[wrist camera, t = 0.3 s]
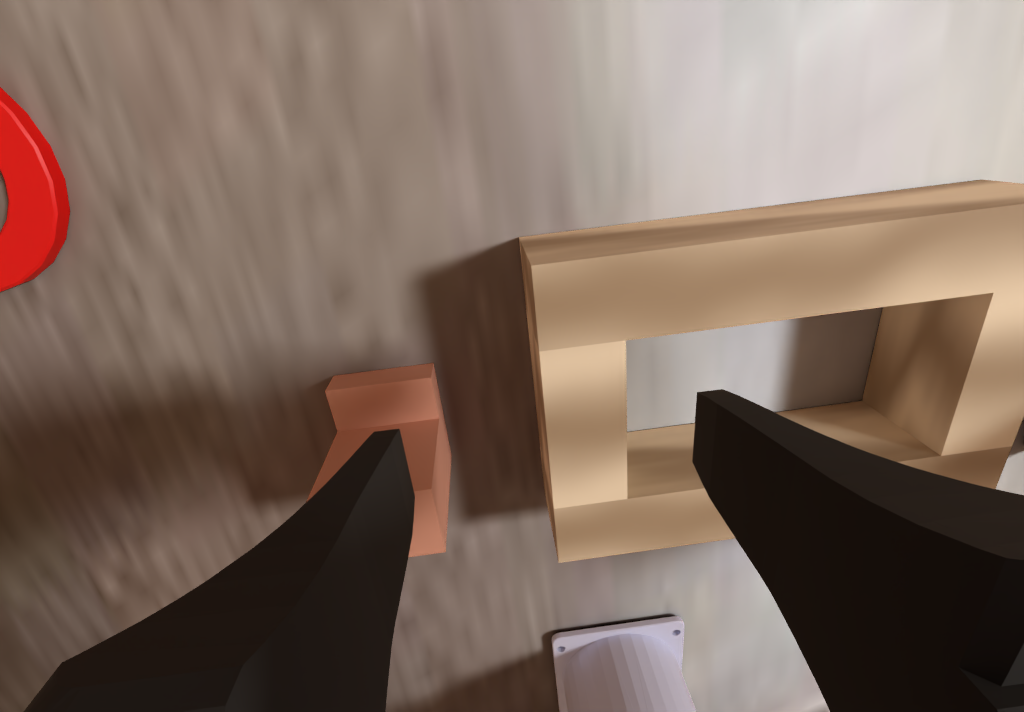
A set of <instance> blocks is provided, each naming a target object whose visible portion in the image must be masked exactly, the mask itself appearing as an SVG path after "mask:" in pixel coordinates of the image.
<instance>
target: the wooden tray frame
mask: <svg viewBox="0 0 1024 712" xmlns="http://www.w3.org/2000/svg"><path fill="white" fill-rule="evenodd" d="M519 244H520V254H521V264H522V273H523V283H524V293H525V303H526V313H527V323H528V333H529V343H530V353H531V362H532V372H533V382H534V392H535V402H536V412H537V422H538V432H539V442H540V451H541V461H542V471H543V481H544V491H545V497H546V502H547V507H548V512H549V517H550V522H551V526H552V531H553V536H554V541H555V546H556V551H557V556H558V561H559V563H561V562H569V561H576V560H583V559H590V558H597V557H604V556H612V555H619V554H626V553H633V552H640V551H647V550H655V549H662V548H669V547H676V546H683V545H690V544H698V543H705V542H712V541H719V540H726V539H733V538H735V536H734V535H733V533H732V532H731V530H730V529H729V527H728V526H727V524H726V523H725V521H724V520H723V518H722V517H721V515H720V514H719V512H718V510H717V509H716V507H715V506H714V504H713V503H712V501H711V499H710V498H709V496H708V494H707V492H706V490H705V488H704V486H703V484H702V482H701V480H700V478H699V475H698V473H697V471H696V469H695V467H694V464H693V462H692V458H693V444H694V430H695V423H693V424H685V425H678V426H671V427H663V428H656V429H648V430H641V431H633V432H627V397H626V340H633V339H640V338H648V337H656V336H664V335H671V334H679V333H687V332H694V331H702V330H710V329H718V328H725V327H733V326H741V325H748V324H756V323H764V322H771V321H779V320H787V319H795V318H802V317H810V316H818V315H825V314H833V313H841V312H849V311H856V310H864V309H872V308H879V307H883V310H882V314H881V319H880V323H879V327H878V332H877V336H876V341H875V345H874V350H873V354H872V358H871V363H870V367H869V372H868V376H867V381H866V385H865V389H864V394H863V398H862V401H857V402H850V403H842V404H835V405H827V406H820V407H812V408H805V409H797V410H790V411H782V412H775V413H777V414H779V415H781V416H783V417H785V418H787V419H789V420H792V421H794V422H796V423H798V424H800V425H803V426H805V427H807V428H809V429H812V430H814V431H816V432H819V433H821V434H823V435H826V436H828V437H831V438H833V439H836V440H838V441H840V442H843V443H845V444H848V445H850V446H853V447H855V448H858V449H861V450H864V451H866V452H869V453H872V454H875V455H878V456H881V457H884V458H887V459H889V460H892V461H895V462H898V463H901V464H904V465H907V466H911V467H914V468H917V469H921V470H924V471H927V472H931V473H934V474H938V475H942V476H945V477H949V478H953V479H956V480H960V481H964V482H968V483H971V484H975V485H979V486H984V487H988V488H992V489H995V488H996V486H997V483H998V481H999V478H1000V476H1001V473H1002V471H1003V468H1004V465H1005V463H1006V460H1007V458H1008V455H1009V453H1010V450H1011V448H1012V445H1013V443H1014V440H1015V438H1016V435H1017V433H1018V430H1019V427H1020V425H1021V422H1022V420H1023V417H1024V184H1020V183H1010V182H1000V181H990V180H975V181H967V182H959V183H951V184H943V185H935V186H927V187H919V188H911V189H903V190H895V191H887V192H879V193H871V194H863V195H855V196H847V197H839V198H831V199H823V200H815V201H807V202H798V203H790V204H782V205H774V206H766V207H758V208H750V209H742V210H734V211H726V212H718V213H710V214H702V215H694V216H686V217H678V218H670V219H662V220H654V221H646V222H638V223H630V224H622V225H614V226H606V227H598V228H589V229H581V230H573V231H565V232H557V233H549V234H541V235H533V236H525V237H519Z"/></svg>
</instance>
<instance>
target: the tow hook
mask: <svg viewBox="0 0 1024 712" xmlns="http://www.w3.org/2000/svg"><path fill="white" fill-rule="evenodd" d="M0 171H1V173H2V175H3V177H4V180H5V185H6V190H7V195H8V200H9V203H8V212H7V220H6V222H5V224H4V226H3V228H2V230H1V232H0V292H1V291H4V290H7V289H10V288H12V287H15V286H17V285H20V284H22V283H25V282H27V281H30V280H32V279H34V278H35V277H37V276H38V275H39V274H40V273H41V272H42V271H44V270H45V269H46V268H47V267H48V266H49V265H51V264H52V263H53V262H54V260H55V258H56V257H57V255H58V253H59V251H60V249H61V247H62V246H63V244H64V242H65V240H66V236H67V229H68V222H69V215H70V207H69V201H68V195H67V188H66V182H65V178H64V176H63V174H62V171H61V169H60V167H59V164H58V162H57V160H56V158H55V155H54V153H53V151H52V148H51V146H50V145H49V143H48V142H47V141H46V139H45V138H44V136H43V135H42V134H41V132H40V131H39V129H38V128H37V127H36V125H35V124H34V122H33V121H32V120H31V118H30V117H29V115H28V114H27V113H26V112H25V111H24V110H23V109H22V108H21V107H20V106H19V105H18V104H17V103H16V102H15V101H14V100H13V99H12V98H11V97H10V96H9V95H8V94H7V93H6V92H5V91H4V90H3V89H2V88H1V87H0Z"/></svg>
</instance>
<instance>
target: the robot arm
mask: <svg viewBox="0 0 1024 712" xmlns="http://www.w3.org/2000/svg"><path fill="white" fill-rule="evenodd" d="M692 462H693V464H694V467H695V469H696V471H697V473H698V475H699V478H700V480H701V482H702V484H703V486H704V488H705V490H706V492H707V494H708V496H709V498H710V499H711V501H712V503H713V504H714V506H715V507H716V509H717V510H718V512H719V514H720V515H721V517H722V518H723V520H724V521H725V523H726V524H727V526H728V527H729V529H730V530H731V532H732V533H733V535H734V536H735V538H736V539H737V541H738V542H739V544H740V545H741V547H742V548H743V550H744V551H745V553H746V554H747V556H748V558H749V559H750V561H751V562H752V564H753V565H754V567H755V568H756V570H757V571H758V573H759V574H760V576H761V577H762V579H763V581H764V582H765V584H766V586H767V587H768V589H769V591H770V592H771V594H772V596H773V597H774V599H775V601H776V603H777V605H778V607H779V609H780V611H781V613H782V615H783V616H784V618H785V620H786V622H787V624H788V626H789V628H790V630H791V632H792V634H793V636H794V637H795V639H796V641H797V644H798V646H799V648H800V650H801V652H802V654H803V656H804V658H805V660H806V662H807V664H808V666H809V668H810V670H811V672H812V674H813V676H814V678H815V680H816V682H817V684H818V686H819V688H820V690H821V693H822V695H823V697H824V699H825V701H826V703H827V706H828V708H829V710H830V712H1024V495H1019V494H1014V493H1009V492H1005V491H1001V490H996V489H992V488H988V487H984V486H979V485H975V484H971V483H968V482H964V481H960V480H956V479H953V478H949V477H945V476H942V475H938V474H934V473H931V472H927V471H924V470H921V469H917V468H914V467H911V466H907V465H904V464H901V463H898V462H895V461H892V460H889V459H887V458H884V457H881V456H878V455H875V454H872V453H869V452H866V451H864V450H861V449H858V448H855V447H853V446H850V445H848V444H845V443H843V442H840V441H838V440H836V439H833V438H831V437H828V436H826V435H823V434H821V433H819V432H816V431H814V430H812V429H809V428H807V427H805V426H803V425H800V424H798V423H796V422H794V421H792V420H789V419H787V418H785V417H783V416H781V415H779V414H777V413H774V412H772V411H770V410H768V409H766V408H764V407H762V406H760V405H757V404H755V403H753V402H751V401H749V400H747V399H744V398H742V397H740V396H738V395H735V394H733V393H731V392H728V391H725V390H722V389H721V390H713V391H705V392H697V403H696V416H695V430H694V444H693V458H692ZM414 505H415V494H414V490H413V485H412V481H411V477H410V472H409V468H408V463H407V459H406V455H405V450H404V446H403V441H402V437H401V433H400V429H392V430H384V431H375V432H373V433H372V434H371V435H370V436H369V437H368V438H367V440H366V441H365V442H364V443H363V444H362V445H361V446H360V447H359V448H358V449H357V451H356V452H355V453H354V454H353V455H352V456H351V457H350V458H349V459H348V461H347V462H346V463H345V464H344V465H343V466H342V467H341V468H340V469H339V470H338V471H337V472H336V473H335V474H334V476H333V477H332V478H331V479H330V480H329V481H328V482H327V483H326V484H325V485H324V486H323V487H322V488H321V489H320V490H319V491H318V492H317V493H316V494H315V495H314V496H313V497H311V498H310V499H309V500H308V501H307V502H306V503H305V504H304V505H303V506H302V507H301V508H300V509H299V510H298V511H297V512H296V513H295V514H294V515H293V516H291V517H290V518H289V519H288V520H287V521H286V522H285V523H283V524H282V525H281V526H280V527H279V528H278V529H276V530H275V531H274V532H273V533H271V534H270V535H269V536H268V537H266V538H265V539H264V540H263V541H261V542H260V543H259V544H258V545H256V546H255V547H254V548H252V549H251V550H250V551H248V552H247V553H246V554H244V555H243V556H241V557H240V558H239V559H237V560H236V561H234V562H233V563H232V564H230V565H229V566H227V567H226V568H224V569H223V570H222V571H220V572H219V573H217V574H216V575H215V576H213V577H212V578H210V579H209V580H207V581H206V582H204V583H203V584H201V585H200V586H198V587H197V588H195V589H193V590H192V591H190V592H189V593H187V594H186V595H184V596H182V597H181V598H179V599H178V600H176V601H174V602H173V603H171V604H169V605H168V606H166V607H164V608H162V609H161V610H159V611H157V612H156V613H154V614H152V615H151V616H149V617H147V618H145V619H144V620H142V621H140V622H138V623H137V624H135V625H133V626H131V627H129V628H127V629H126V630H124V631H122V632H120V633H118V634H116V635H114V636H112V637H110V638H109V639H107V640H105V641H103V642H101V643H99V644H97V645H95V646H94V647H92V648H90V649H88V650H86V651H84V652H82V653H80V654H78V655H76V656H74V657H72V658H70V659H68V660H66V661H64V662H62V663H61V664H60V666H59V667H58V668H57V669H56V671H55V672H54V673H53V675H52V676H51V677H50V678H49V680H48V681H47V682H46V684H45V685H44V686H43V688H42V689H41V690H40V691H39V693H38V694H37V695H36V697H35V698H34V699H33V700H32V702H31V703H30V704H29V706H28V707H27V708H26V710H25V711H24V712H385V709H386V697H387V686H388V676H389V666H390V656H391V646H392V639H393V633H394V626H395V621H396V616H397V611H398V606H399V601H400V596H401V591H402V586H403V581H404V576H405V571H406V566H407V561H408V556H409V551H410V545H411V540H412V535H413V522H414ZM551 640H552V649H553V658H554V667H555V676H556V685H557V694H558V703H559V712H697V711H696V709H695V706H694V704H693V701H692V698H691V696H690V693H689V691H688V688H687V685H686V683H685V680H684V678H683V675H682V657H683V641H684V622H683V620H682V618H681V617H678V616H672V617H665V618H658V619H651V620H644V621H637V622H630V623H623V624H616V625H609V626H602V627H595V628H588V629H581V630H574V631H567V632H560V633H556V634H554V635H553V636H552V639H551Z"/></svg>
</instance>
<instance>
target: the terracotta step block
mask: <svg viewBox="0 0 1024 712" xmlns="http://www.w3.org/2000/svg"><path fill="white" fill-rule="evenodd" d="M325 393H326V396H327V400H328V403H329V406H330V409H331V412H332V416H333V419H334V422H335V425H336V429H337V434H336V436H335V438H334V441H333V443H332V445H331V447H330V450H329V452H328V454H327V456H326V459H325V461H324V463H323V465H322V468H321V470H320V472H319V474H318V477H317V479H316V481H315V483H314V486H313V488H312V490H311V492H310V495H309V497H308V499H307V501H308V500H309V499H310V498H311V497H313V496H314V495H315V494H316V493H317V492H318V491H319V490H320V489H321V488H322V487H323V486H324V485H325V484H326V483H327V482H328V481H329V480H330V479H331V478H332V477H333V476H334V474H335V473H336V472H337V471H338V470H339V469H340V468H341V467H342V466H343V465H344V464H345V463H346V462H347V461H348V459H349V458H350V457H351V456H352V455H353V454H354V453H355V452H356V451H357V449H358V448H359V447H360V446H361V445H362V444H363V443H364V442H365V441H366V440H367V438H368V437H369V436H370V435H371V434H372V433H373V432H375V431H384V430H392V429H400V433H401V437H402V441H403V446H404V450H405V455H406V459H407V463H408V468H409V472H410V477H411V481H412V485H413V490H414V494H415V505H414V522H413V535H412V540H411V545H410V551H409V556H408V557H413V556H420V555H427V554H435V553H442V552H446V536H447V520H448V504H449V488H450V472H451V456H452V455H451V450H450V445H449V440H448V435H447V429H446V424H445V419H444V414H443V409H442V404H441V399H440V394H439V389H438V384H437V378H436V373H435V368H434V363H429V364H421V365H413V366H406V367H398V368H390V369H382V370H375V371H367V372H359V373H351V374H344V375H336V376H333V378H332V380H331V381H330V383H329V385H328V387H327V388H326V390H325ZM307 501H306V502H307Z"/></svg>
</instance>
